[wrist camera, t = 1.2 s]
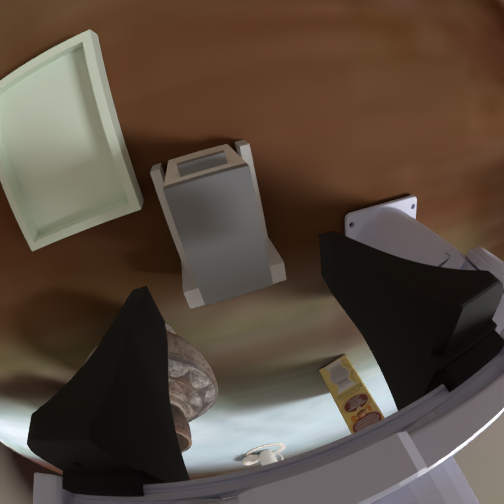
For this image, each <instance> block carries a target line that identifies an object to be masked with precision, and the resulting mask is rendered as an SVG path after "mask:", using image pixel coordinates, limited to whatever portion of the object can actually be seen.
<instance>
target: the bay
mask: <svg viewBox="0 0 504 504" xmlns="http://www.w3.org/2000/svg"><path fill="white" fill-rule="evenodd" d="M235 147H236V151H237V154H238V155H239V156H240V157H241V158H242V159H243V160H244V161H245V162H246V163H247V164H248V165H249V167H250V171H251V176H252V181H253V186H254V191H255V196H256V200H257V205H258V210H259V215H260V220H261V225H262V230H263V235H264V240H265V245H266V250H267V255H268V260H269V265H270V270H271V276H272V281H273V284H275V283H278V282H281V281H284V280H287V279H286V273H285V266H284V262H283V260H282V258H281V257H280V255H279V253H278V252H277V250H276V249H275V247H274V245H273V244H272V242H271V241H270V239H269V237H268V235H267V230H266V224H265V219H264V214H263V209H262V204H261V199H260V194H259V189H258V184H257V179H256V174H255V169H254V164H253V159H252V154H251V149H250V145H249V143H247V142H246V141H244V140H241V141H236V142H235ZM150 174H151V177H152V180H153V183H154V186H155V189H156V192H157V195H158V198H159V201H160V204H161V207H162V209H163V212H164V215H165V218H166V221H167V224H168V226H169V229H170V232H171V235H172V237H173V240H174V243H175V245H176V248H177V251H178V253H179V256H180V258H181V267H182V283H183V293H184V295H185V298H186V300H187V302H188V304H189V307H190V309H192V308H195V307H199V306H202V305H205V303H204V301H203V298H202V296H201V293H200V291H199V288H198V286H197V283H196V280H195V278H194V275H193V273H192V270H191V267H190V265H189V262H188V259H187V257H186V254H185V251H184V249H183V246H182V243H181V240H180V238H179V235H178V232H177V229H176V226H175V223H174V221H173V218H172V215H171V212H170V209H169V206H168V203H167V200H166V197H165V194H164V191H163V188H164V182H165V174H164V171H163V167H162V164H161V163H159V164H156V165H153V166H152V168H151V171H150Z"/></svg>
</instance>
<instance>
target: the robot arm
mask: <svg viewBox="0 0 504 504" xmlns="http://www.w3.org/2000/svg"><path fill="white" fill-rule="evenodd" d="M416 205H417V198H416V197H415V196H413V195H411V196H407V197H404V198H400V199H396V200H393V201H389V202H386V203H382V204H379V205H375V206H371V207H368V208H364V209H361V210H357V211H354V212H350V213H348V214H347V215H346V216H345V236H344V235H342V234H339V233H336V232H333V231H331V232H328V233H325V234H321V235H319V241H320V255H321V271H322V276H323V278H324V280H325V282H326V284H327V286H328V287H329V289H330V291H331V293H332V294H333V295H334V297H335V298H336V300H337V301H338V302H339V304H340V305H341V306H342V308H343V309H344V310H345V312H346V313H347V314H348V316H349V317H350V318H351V320H352V321H353V322H354V324H355V325H356V327H357V328H358V329H359V331H360V332H361V334H362V335H363V337H364V339H365V340H366V342H367V344H368V346H369V348H370V349H371V351H372V353H373V355H374V357H375V359H376V361H377V363H378V365H379V367H380V369H381V371H382V373H383V375H384V378H385V380H386V382H387V384H388V387H389V389H390V391H391V394H392V396H393V399H394V401H395V404H396V407H397V409H398V411H397V412H396V413H394V414H392V415H390V416H388V417H386V418H384V419H382V420H380V421H379V422H377V423H374V424H372V425H370V426H368V427H366V428H364V429H362V430H360V431H358V432H355V433H353V434H351V435H349V436H346V437H344V438H342V439H339V440H337V441H335V442H332V443H330V444H327V445H324V446H322V447H319V448H317V449H314V450H311V451H308V452H305V453H303V454H300V455H297V456H294V457H290V458H287V459H284V460H281V461H278V462H274V463H271V464H267V465H263V466H260V467H256V468H252V469H248V470H243V471H239V472H234V473H230V474H225V475H220V476H214V477H209V478H202V479H196V480H190V479H189V476H188V473H187V470H186V467H185V464H184V461H183V457H182V454H181V450H180V446H179V442H178V439H177V434H176V430H175V425H174V420H173V415H172V409H171V404H170V396H169V378H168V341H167V333H166V326H165V321H164V319H163V317H162V316H161V314H160V312H159V310H158V308H157V306H156V304H155V302H154V300H153V298H152V296H151V294H150V292H149V290H148V288H147V286H145V287H142V288H138V289H135V290H133V291H132V292H131V294H130V295H129V297H128V298H127V300H126V302H125V303H124V305H123V307H122V308H121V310H120V312H119V314H118V315H117V317H116V319H115V320H114V322H113V324H112V325H111V327H110V328H109V330H108V331H107V333H106V335H105V336H104V338H103V339H102V341H101V342H100V344H99V345H98V347H97V348H96V350H95V351H94V352H93V354H92V355H91V356H90V358H89V359H88V360H87V362H86V363H85V364H84V365H83V366H82V367H81V369H80V370H79V371H78V372H77V373H76V374H75V375H74V377H73V378H72V379H71V380H70V381H69V382H68V383H67V384H66V385H65V386H64V387H63V388H62V389H61V390H60V391H59V392H58V393H57V394H56V395H55V396H54V397H52V398H51V399H50V400H49V401H48V402H46V403H45V404H44V405H43V406H42V407H40V408H39V409H38V410H37V411H35V412H34V413H33V414H32V416H31V422H30V427H29V433H28V440H27V445H28V447H29V448H30V450H31V451H32V452H33V453H34V454H36V455H37V456H39V457H40V458H42V459H43V460H45V461H47V462H48V463H50V464H52V465H54V466H55V467H57V468H59V469H61V470H63V478H62V477H60V476H56V475H50V474H42V473H35V474H34V490H33V491H34V492H33V504H479V502H478V500H477V498H476V496H475V495H474V493H473V491H472V489H471V487H470V486H469V484H468V482H467V480H466V479H465V477H464V475H463V473H462V472H461V470H460V468H459V467H458V465H457V463H456V461H455V460H454V458H453V455H455V454H456V453H457V452H459V451H460V450H461V449H462V448H464V447H465V446H466V445H467V444H469V443H470V442H471V441H472V440H474V439H475V438H476V437H477V436H478V435H479V434H481V433H482V432H483V431H484V430H485V429H486V428H487V427H488V426H489V425H491V424H492V423H493V422H494V421H495V420H496V419H497V418H498V417H499V416H500V415H501V414H502V413H503V412H504V262H503V261H502V260H500V259H499V258H497V257H496V256H495V255H493V254H492V253H490V252H489V251H487V250H485V249H484V248H482V247H477V248H474V249H473V248H471V249H469V251H468V254H467V255H464V254H463V253H461V252H460V251H459V250H458V249H456V248H455V247H454V246H452V245H451V244H450V243H448V242H447V241H445V240H444V239H443V238H441V237H440V236H439V235H437V234H436V233H434V232H433V231H432V230H430V229H429V228H427V227H426V226H424V225H423V224H422V223H420V222H419V221H417V220H416V219H415V218H416ZM411 206H412V207H411ZM351 222H352V224H351V225H350V226H349V224H350V223H351ZM232 496H237V497H233V498H230V499H225V500H223V499H222V498H227V497H232Z"/></svg>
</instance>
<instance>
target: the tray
mask: <svg viewBox="0 0 504 504" xmlns="http://www.w3.org/2000/svg"><path fill="white" fill-rule="evenodd" d="M0 181H1V184H2V187H3V189H4V192H5V194H6V197H7V199H8V202H9V204H10V206H11V209H12V211H13V213H14V215H15V218H16V220H17V222H18V224H19V226H20V228H21V231H22V233H23V235H24V237H25V239H26V241H27V243H28V245H29V247H30V248H31V250H32V251H35V250H37V249H39V248H41V247H44V246H46V245H49V244H51V243H53V242H56V241H58V240H61V239H63V238H66V237H68V236H70V235H73V234H76V233H78V232H81V231H83V230H86V229H88V228H91V227H94V226H96V225H99V224H102V223H104V222H107V221H110V220H113V219H115V218H118V217H121V216H124V215H127V214H130V213H132V212H135V211H138V210H141V208H142V205H143V202H144V198H143V196H142V193H141V190H140V187H139V184H138V181H137V178H136V175H135V172H134V169H133V166H132V163H131V160H130V157H129V154H128V151H127V148H126V144H125V141H124V138H123V134H122V131H121V128H120V124H119V121H118V117H117V114H116V110H115V106H114V103H113V99H112V95H111V91H110V87H109V84H108V79H107V75H106V71H105V67H104V63H103V58H102V54H101V49H100V44H99V39H98V35H97V34H96V33H94V32H93V31H91V30H88V31H86V32H83V33H81V34H79V35H77V36H75V37H73V38H71V39H68V40H66V41H64V42H63V43H61V44H59V45H57V46H55V47H53V48H51V49H49V50H48V51H46V52H44V53H42V54H40V55H39V56H37V57H35V58H34V59H32V60H30V61H29V62H27V63H26V64H24V65H22V66H21V67H19V68H18V69H16V70H15V71H13V72H12V73H10V74H9V75H7V76H6V77H5V78H3V79H2V80H0Z"/></svg>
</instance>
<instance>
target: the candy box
mask: <svg viewBox="0 0 504 504" xmlns="http://www.w3.org/2000/svg"><path fill="white" fill-rule="evenodd" d="M319 372H320V374H321V376H322V378H323V379H324V381H325V383H326V385H327V387H328V389H329V391H330V393H331V395H332V397H333V399H334V401H335V403H336V405H337V407H338V408H339V410H340V412H341V414H342V416H343V418H344V420H345V422H346V424H347V426H348V428H349V430H350V432H351V434H353V433H355V432H358V431H360V430H362V429H364V428H366V427H368V426H370V425H372V424H374V423H377V422H379V421H380V420H382V419H384V416H383V414H382V413H381V411H380V409H379V408H378V406H377V404H376V403H375V401H374V399H373V398H372V396H371V394H370V393H369V391H368V390H367V388H366V386H365V385H364V383H363V382H362V380H361V378H360V377H359V375H358V374H357V372H356V370H355V369H354V367H353V366H352V364H351V362H350V361H349V359H348V358H347V356H346V355H343V356H342V357H340V358H338V359H337V360H335V361H333V362H332V363H330V364H328V365H327V366H325V367H323V368H321V369H320V370H319Z"/></svg>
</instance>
